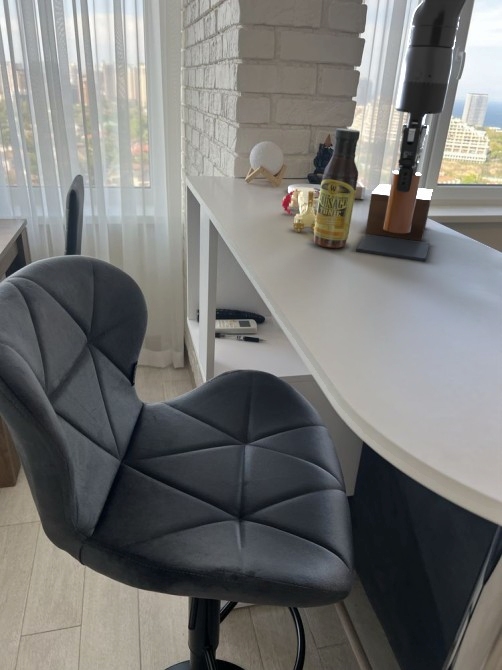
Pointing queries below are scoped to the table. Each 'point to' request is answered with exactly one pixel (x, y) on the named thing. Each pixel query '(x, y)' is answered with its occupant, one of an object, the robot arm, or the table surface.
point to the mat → (394, 247)
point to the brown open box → (379, 211)
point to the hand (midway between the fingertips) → (404, 188)
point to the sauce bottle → (337, 192)
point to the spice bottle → (401, 204)
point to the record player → (359, 188)
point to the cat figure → (302, 207)
